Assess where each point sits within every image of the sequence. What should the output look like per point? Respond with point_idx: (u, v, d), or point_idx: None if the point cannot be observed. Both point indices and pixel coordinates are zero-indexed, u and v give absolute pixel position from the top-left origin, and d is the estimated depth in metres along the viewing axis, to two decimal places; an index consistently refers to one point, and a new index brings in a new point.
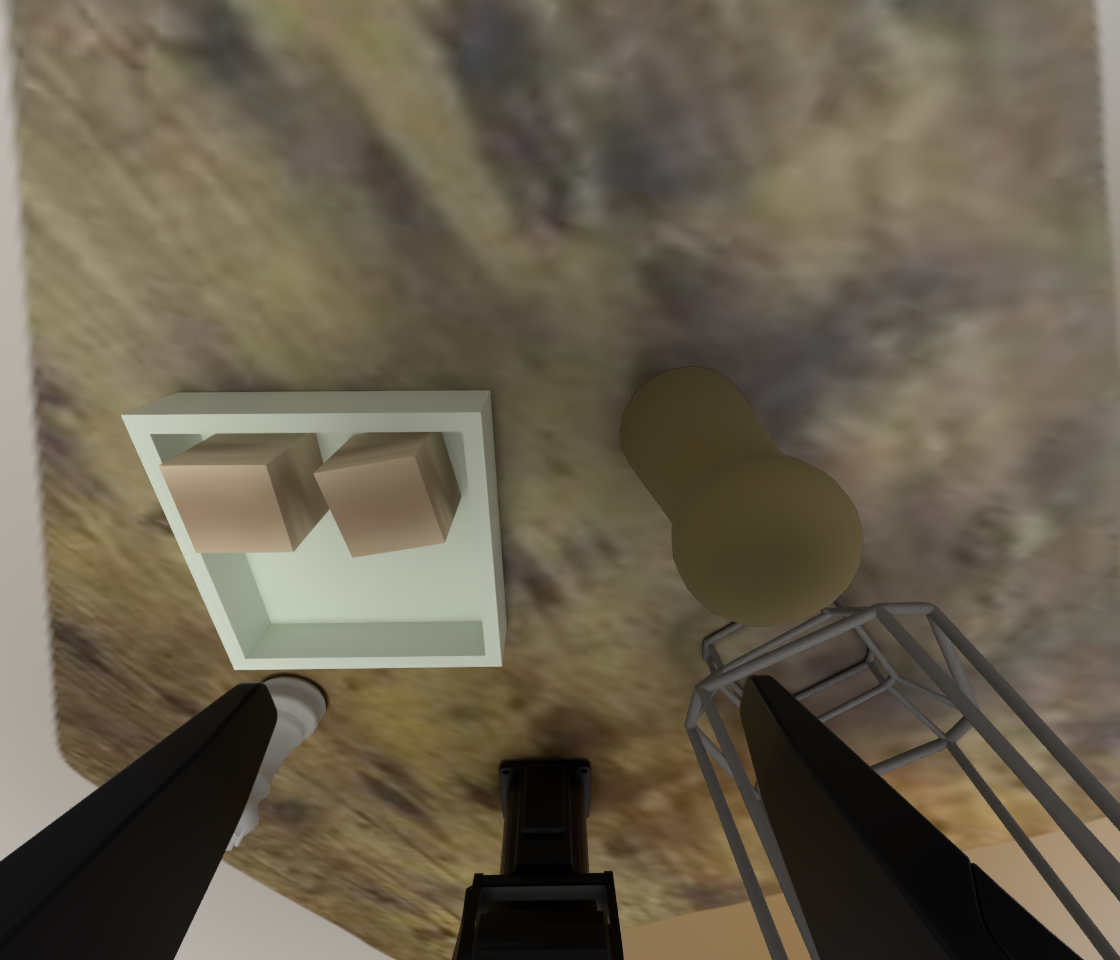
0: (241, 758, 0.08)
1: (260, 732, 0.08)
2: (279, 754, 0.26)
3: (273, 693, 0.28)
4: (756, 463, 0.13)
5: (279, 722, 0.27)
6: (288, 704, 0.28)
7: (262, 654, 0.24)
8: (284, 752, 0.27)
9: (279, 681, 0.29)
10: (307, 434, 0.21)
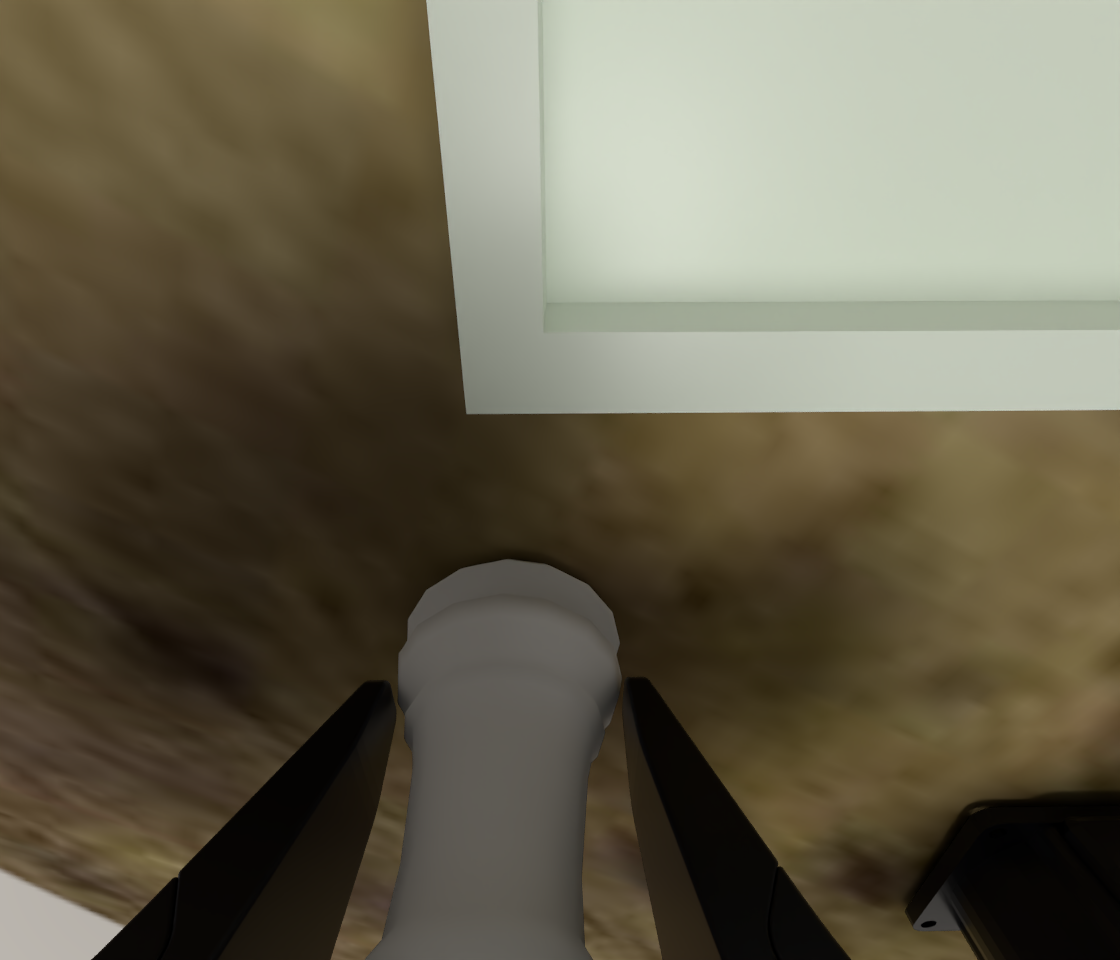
0: (375, 756, 0.08)
1: (386, 730, 0.08)
2: (580, 823, 0.07)
3: (507, 601, 0.08)
4: None
5: (554, 699, 0.07)
6: (563, 636, 0.08)
7: (616, 328, 0.05)
8: (585, 812, 0.07)
9: (505, 568, 0.09)
10: None
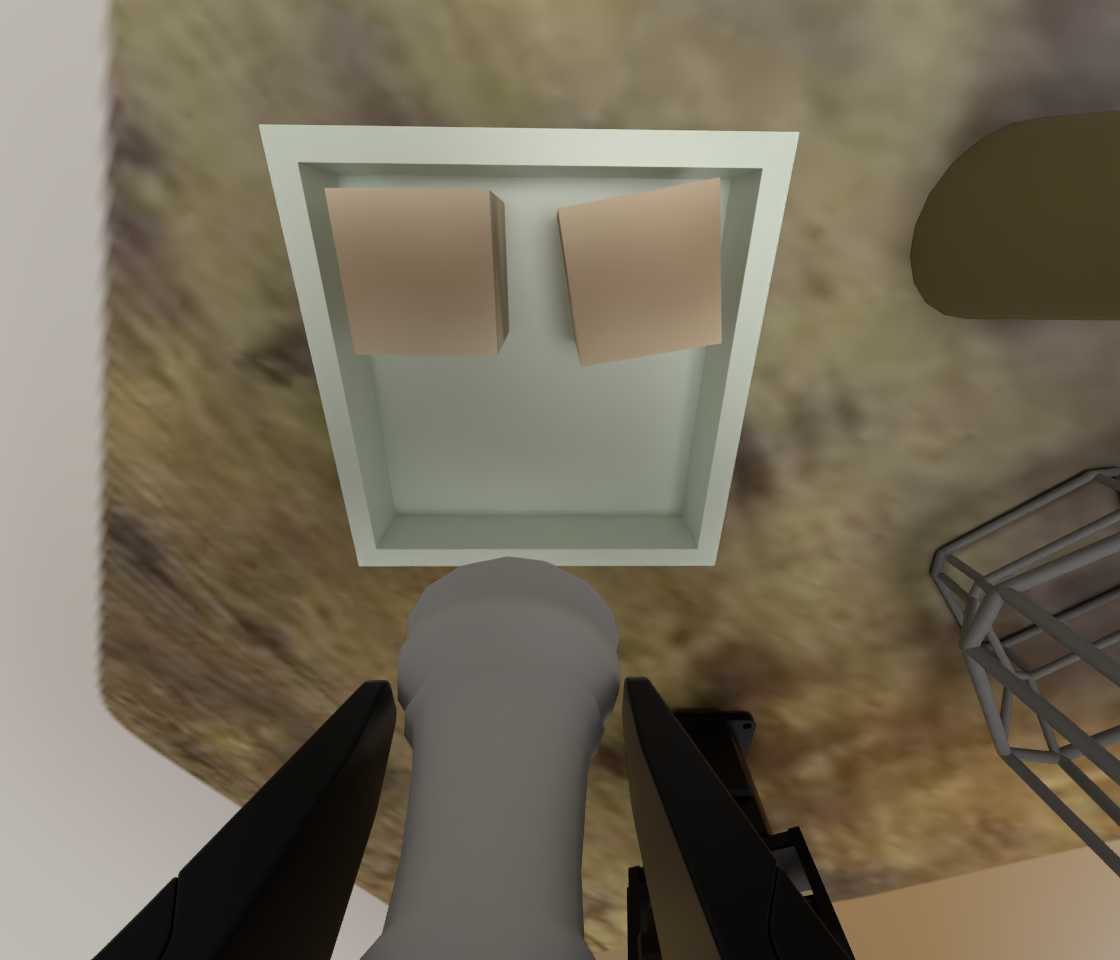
0: (375, 756, 0.08)
1: (386, 730, 0.08)
2: (579, 817, 0.07)
3: (507, 598, 0.08)
4: None
5: (554, 696, 0.07)
6: (562, 633, 0.08)
7: (397, 545, 0.18)
8: (584, 808, 0.07)
9: (505, 566, 0.09)
10: (502, 203, 0.14)
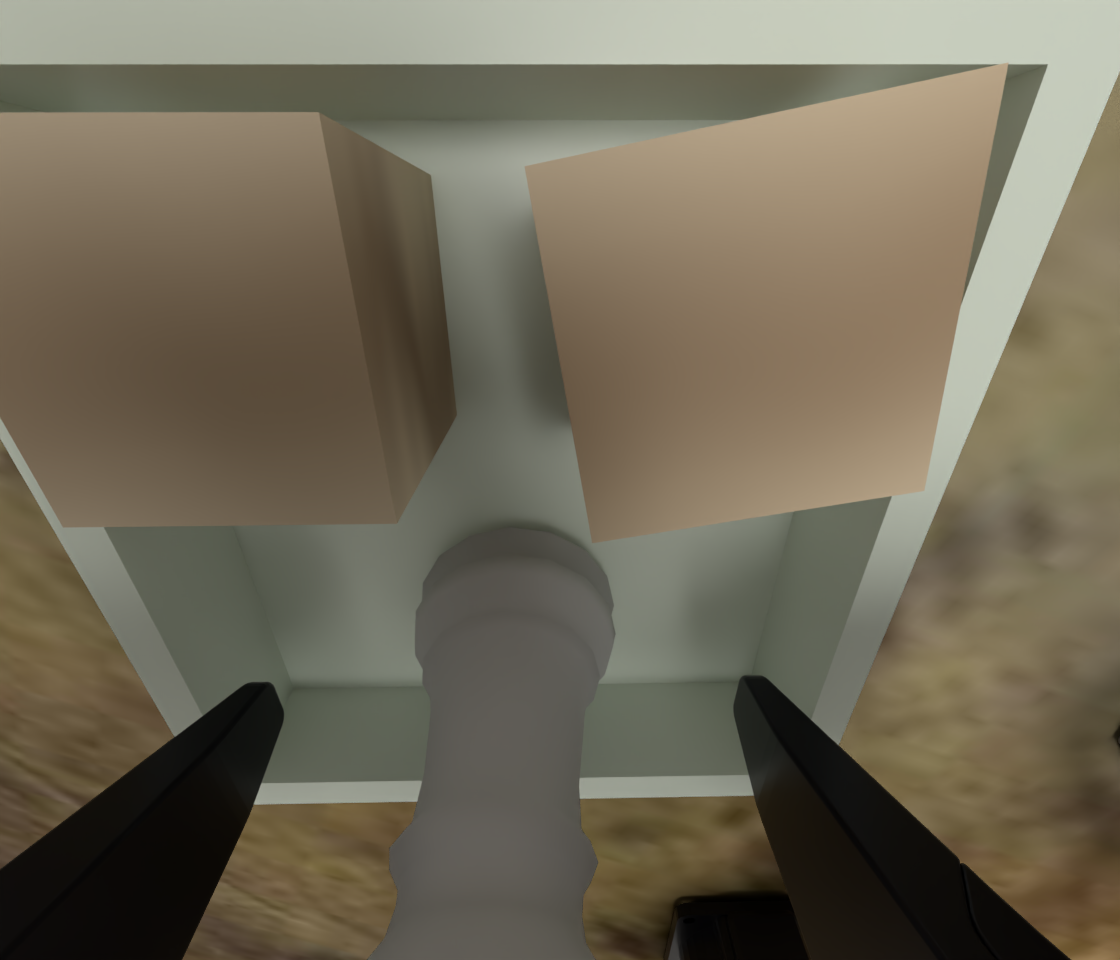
0: (248, 758, 0.08)
1: (267, 732, 0.08)
2: (578, 742, 0.08)
3: (513, 560, 0.09)
4: None
5: (554, 643, 0.08)
6: (562, 591, 0.09)
7: (277, 770, 0.11)
8: (582, 738, 0.08)
9: (511, 534, 0.10)
10: (420, 174, 0.07)
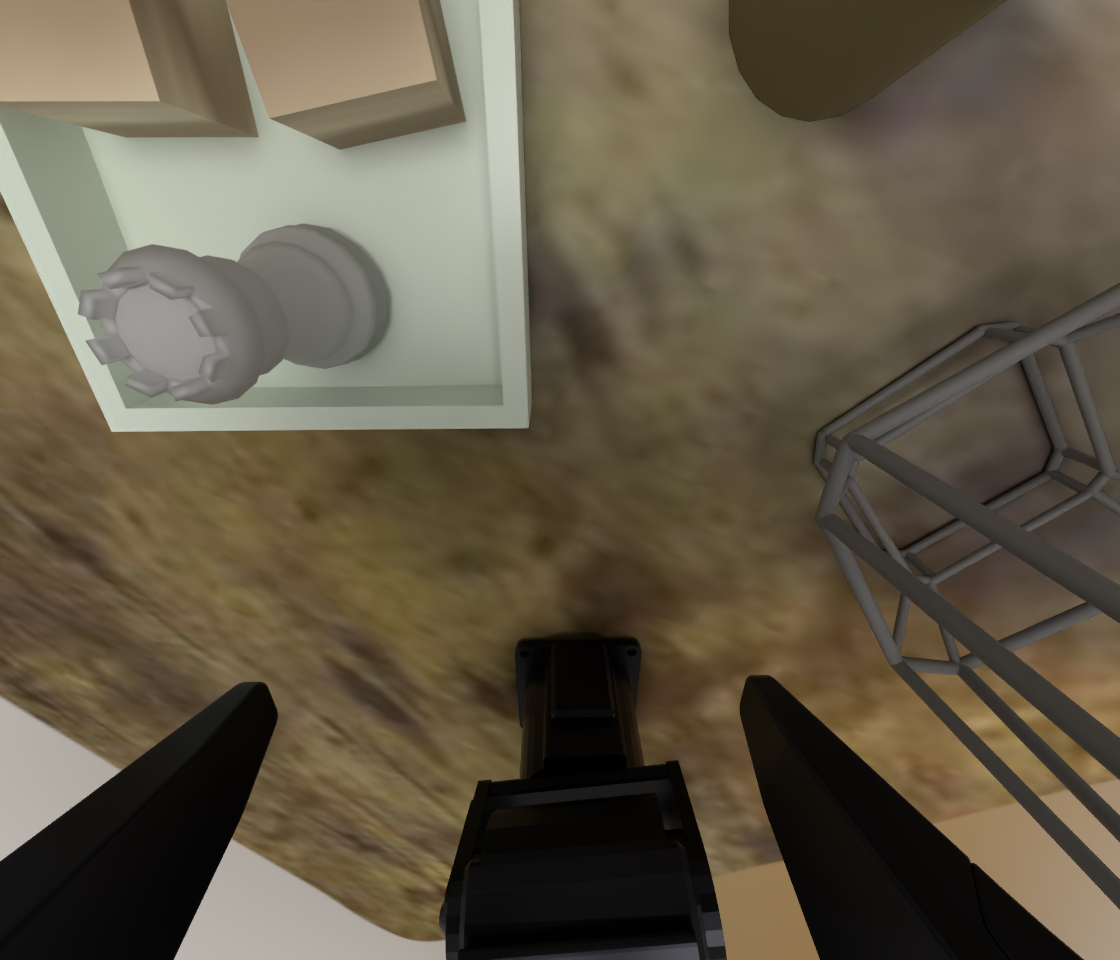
0: (241, 758, 0.08)
1: (260, 732, 0.08)
2: (306, 300, 0.13)
3: (292, 226, 0.14)
4: None
5: (306, 260, 0.13)
6: (322, 244, 0.14)
7: (154, 406, 0.16)
8: (316, 309, 0.13)
9: None
10: None
